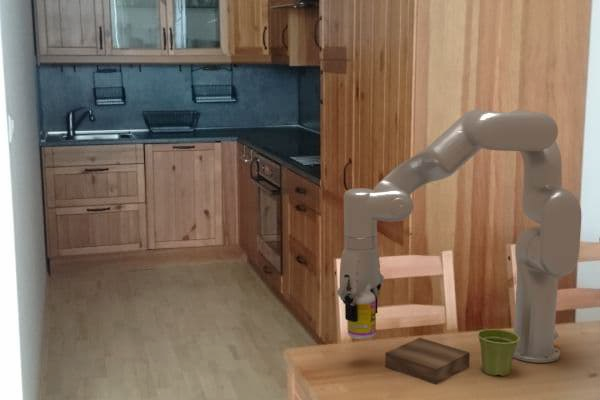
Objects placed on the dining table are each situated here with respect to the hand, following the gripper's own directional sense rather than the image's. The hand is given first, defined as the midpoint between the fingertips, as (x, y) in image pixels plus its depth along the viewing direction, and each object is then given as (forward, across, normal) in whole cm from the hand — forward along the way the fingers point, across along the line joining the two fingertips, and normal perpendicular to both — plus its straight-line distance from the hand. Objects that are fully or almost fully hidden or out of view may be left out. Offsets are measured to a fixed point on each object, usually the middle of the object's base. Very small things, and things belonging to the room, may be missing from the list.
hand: (361, 315), depth 177 cm
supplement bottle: (+5, 0, 0) cm, 5 cm away
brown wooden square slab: (+12, -9, +12) cm, 19 cm away
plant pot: (+13, -18, +25) cm, 34 cm away
